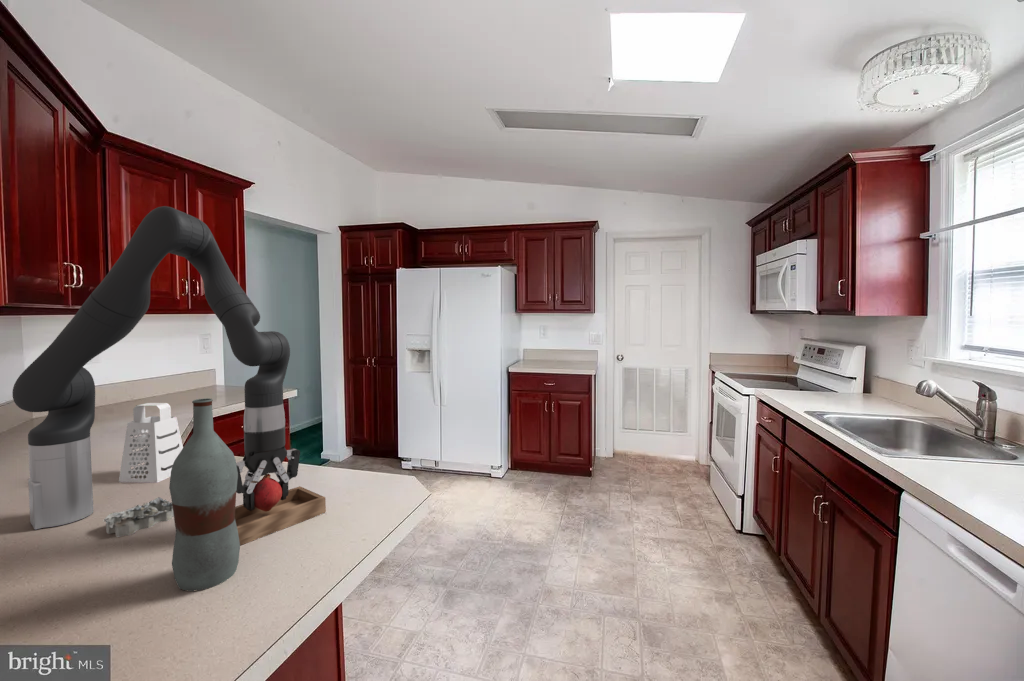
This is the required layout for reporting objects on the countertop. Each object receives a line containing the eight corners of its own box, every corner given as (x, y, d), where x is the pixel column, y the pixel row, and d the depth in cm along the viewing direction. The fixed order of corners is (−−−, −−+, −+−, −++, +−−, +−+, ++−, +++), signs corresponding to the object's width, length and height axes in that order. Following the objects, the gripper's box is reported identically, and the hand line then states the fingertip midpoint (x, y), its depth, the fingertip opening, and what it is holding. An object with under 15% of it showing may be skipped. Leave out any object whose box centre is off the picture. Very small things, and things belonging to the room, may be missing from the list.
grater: (157, 482, 114) (154, 408, 113) (118, 482, 114) (115, 407, 113) (187, 469, 124) (185, 400, 123) (152, 468, 125) (149, 400, 124)
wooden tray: (225, 551, 80) (224, 533, 80) (202, 534, 86) (201, 517, 86) (325, 512, 96) (325, 497, 96) (300, 500, 102) (299, 486, 102)
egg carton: (118, 541, 84) (117, 520, 84) (100, 532, 87) (99, 513, 87) (180, 518, 94) (179, 499, 94) (161, 511, 97) (160, 493, 97)
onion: (268, 518, 88) (267, 480, 87) (244, 516, 89) (243, 478, 88) (288, 506, 93) (287, 470, 93) (265, 504, 94) (264, 468, 94)
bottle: (163, 599, 66) (157, 406, 65) (182, 568, 74) (176, 397, 73) (235, 585, 70) (230, 402, 68) (245, 556, 78) (240, 393, 77)
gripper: (290, 417, 98) (291, 489, 99) (218, 430, 87) (220, 511, 87) (307, 422, 94) (308, 497, 95) (234, 436, 82) (236, 522, 83)
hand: (266, 503), depth 91 cm, fingers closed on onion, 6 cm apart
